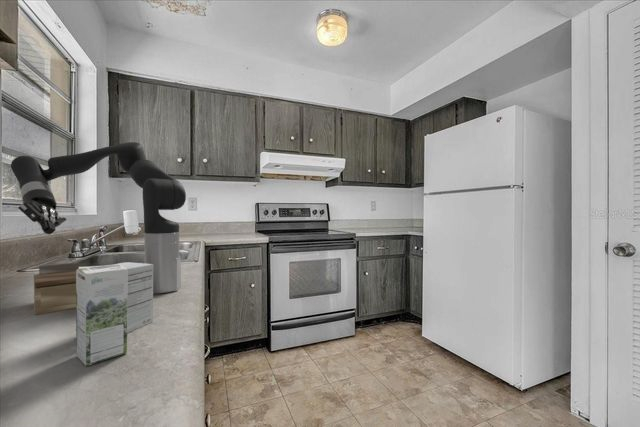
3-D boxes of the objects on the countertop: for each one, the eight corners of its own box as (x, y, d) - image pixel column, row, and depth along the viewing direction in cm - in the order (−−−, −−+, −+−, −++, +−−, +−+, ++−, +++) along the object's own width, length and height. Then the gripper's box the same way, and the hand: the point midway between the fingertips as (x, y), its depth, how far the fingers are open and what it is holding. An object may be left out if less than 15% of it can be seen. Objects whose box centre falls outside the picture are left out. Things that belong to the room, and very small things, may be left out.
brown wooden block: (33, 277, 78) (33, 266, 77) (82, 272, 85) (82, 261, 85) (34, 287, 68) (34, 274, 68) (89, 280, 75) (89, 268, 75)
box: (34, 303, 76) (33, 279, 76) (83, 295, 83) (83, 274, 83) (34, 314, 68) (34, 288, 68) (90, 305, 75) (89, 281, 75)
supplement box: (94, 331, 59) (93, 267, 59) (128, 318, 66) (127, 261, 66) (122, 335, 57) (122, 269, 56) (154, 321, 64) (154, 263, 64)
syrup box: (116, 344, 53) (115, 262, 53) (128, 354, 49) (128, 266, 49) (75, 356, 49) (75, 267, 48) (85, 368, 45) (84, 272, 45)
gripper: (49, 214, 101) (61, 247, 93) (4, 196, 90) (13, 232, 82) (68, 199, 102) (81, 231, 94) (25, 179, 91) (36, 213, 83)
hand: (49, 231), depth 88 cm, fingers closed
